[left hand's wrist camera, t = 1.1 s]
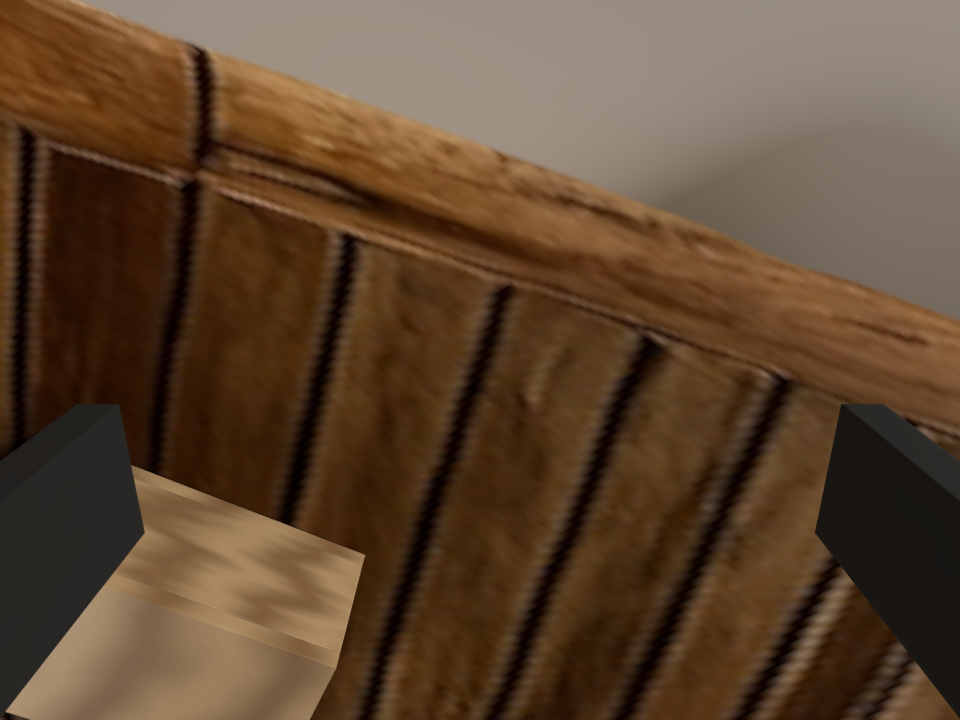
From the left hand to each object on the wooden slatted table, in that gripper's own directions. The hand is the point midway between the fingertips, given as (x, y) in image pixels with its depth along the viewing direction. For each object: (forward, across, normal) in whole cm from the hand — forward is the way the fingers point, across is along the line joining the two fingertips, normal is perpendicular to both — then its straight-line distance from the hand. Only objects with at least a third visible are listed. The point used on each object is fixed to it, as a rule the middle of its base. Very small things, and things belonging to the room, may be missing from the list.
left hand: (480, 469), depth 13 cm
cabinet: (+25, +19, +21) cm, 38 cm away
